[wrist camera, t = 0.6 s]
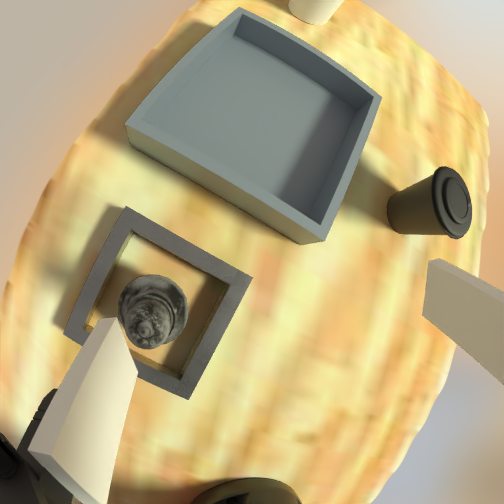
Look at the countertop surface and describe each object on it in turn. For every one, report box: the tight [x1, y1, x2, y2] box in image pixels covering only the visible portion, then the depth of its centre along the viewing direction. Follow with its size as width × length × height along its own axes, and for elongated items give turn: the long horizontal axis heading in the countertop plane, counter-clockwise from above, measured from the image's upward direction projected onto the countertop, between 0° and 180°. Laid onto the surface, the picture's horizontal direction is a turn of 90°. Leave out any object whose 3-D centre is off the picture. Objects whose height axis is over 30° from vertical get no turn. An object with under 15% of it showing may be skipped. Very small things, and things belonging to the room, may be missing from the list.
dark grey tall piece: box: [119, 274, 188, 349], centre depth 20 cm, size 6×6×12 cm
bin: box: [125, 7, 382, 245], centre depth 27 cm, size 20×20×5 cm
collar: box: [63, 206, 253, 400], centre depth 25 cm, size 13×13×2 cm
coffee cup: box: [387, 166, 472, 239], centre depth 30 cm, size 8×8×10 cm
